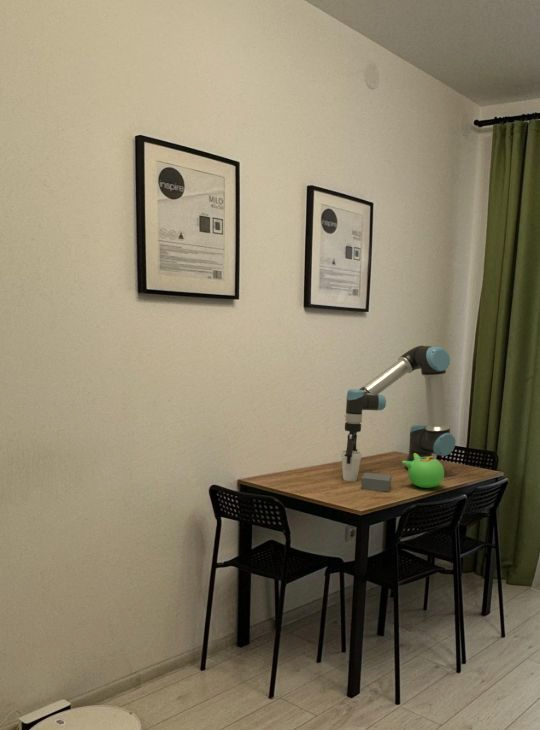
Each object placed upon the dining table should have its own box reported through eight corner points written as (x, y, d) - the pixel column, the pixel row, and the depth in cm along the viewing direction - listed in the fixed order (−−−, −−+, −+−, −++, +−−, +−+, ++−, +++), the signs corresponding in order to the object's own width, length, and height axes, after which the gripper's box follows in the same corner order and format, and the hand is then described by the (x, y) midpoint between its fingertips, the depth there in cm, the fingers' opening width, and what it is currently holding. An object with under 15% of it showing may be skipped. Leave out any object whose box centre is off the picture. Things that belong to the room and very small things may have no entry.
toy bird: (436, 494, 273) (438, 460, 272) (399, 487, 281) (401, 455, 281) (447, 486, 288) (449, 455, 287) (412, 480, 297) (414, 450, 296)
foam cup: (356, 477, 297) (358, 450, 296) (362, 482, 288) (364, 454, 287) (337, 477, 296) (339, 450, 295) (342, 482, 286) (344, 453, 286)
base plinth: (364, 483, 286) (364, 472, 286) (390, 486, 283) (391, 475, 283) (361, 489, 275) (361, 477, 274) (388, 492, 272) (389, 480, 271)
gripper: (348, 418, 303) (345, 462, 304) (341, 425, 279) (338, 472, 280) (364, 420, 302) (361, 463, 303) (358, 426, 277) (355, 473, 278)
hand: (350, 467), depth 291 cm, fingers open, 13 cm apart
